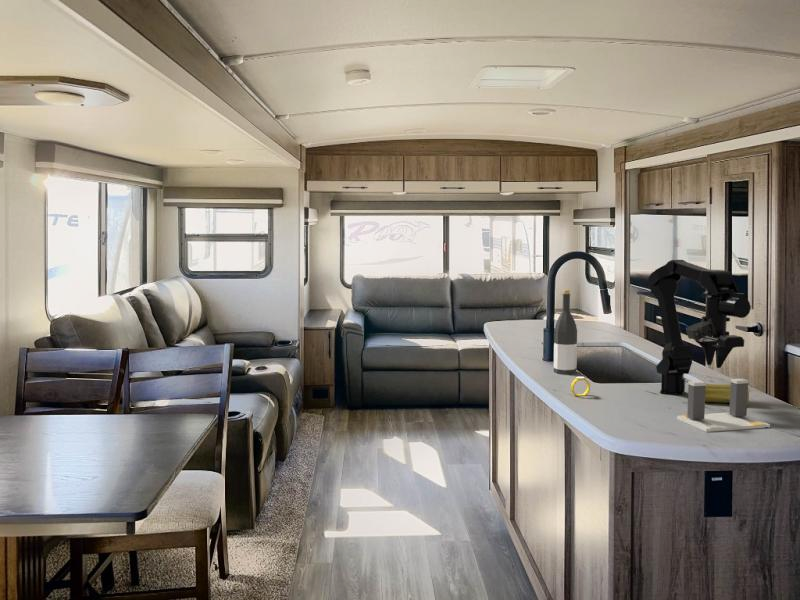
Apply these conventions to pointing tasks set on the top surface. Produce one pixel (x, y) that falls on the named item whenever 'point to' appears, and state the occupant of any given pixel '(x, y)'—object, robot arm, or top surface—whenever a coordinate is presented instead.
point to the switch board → (723, 422)
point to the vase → (719, 393)
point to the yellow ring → (574, 384)
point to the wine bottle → (565, 340)
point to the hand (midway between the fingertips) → (713, 366)
